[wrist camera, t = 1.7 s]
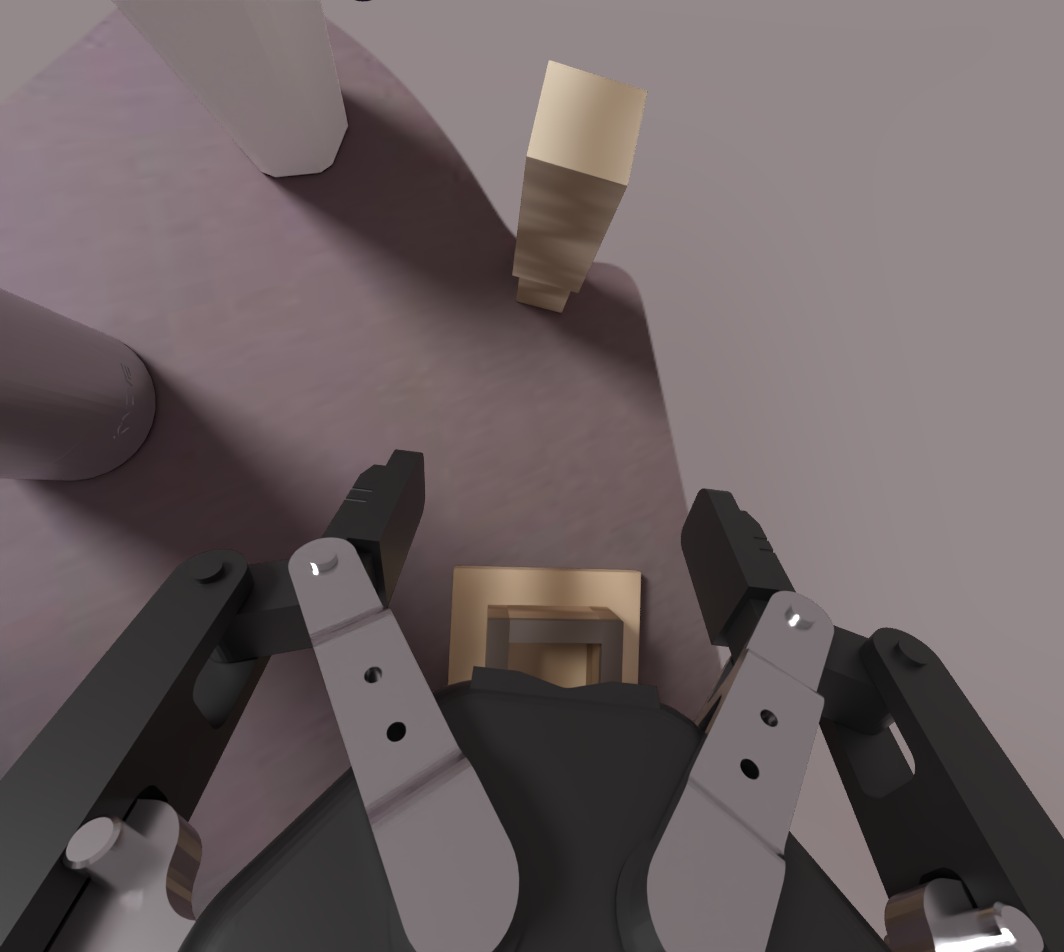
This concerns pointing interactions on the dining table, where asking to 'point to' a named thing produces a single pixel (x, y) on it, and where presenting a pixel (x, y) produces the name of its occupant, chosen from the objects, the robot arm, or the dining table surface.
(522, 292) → the leg peg
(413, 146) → the dining table surface
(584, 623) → the board
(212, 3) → the cup
